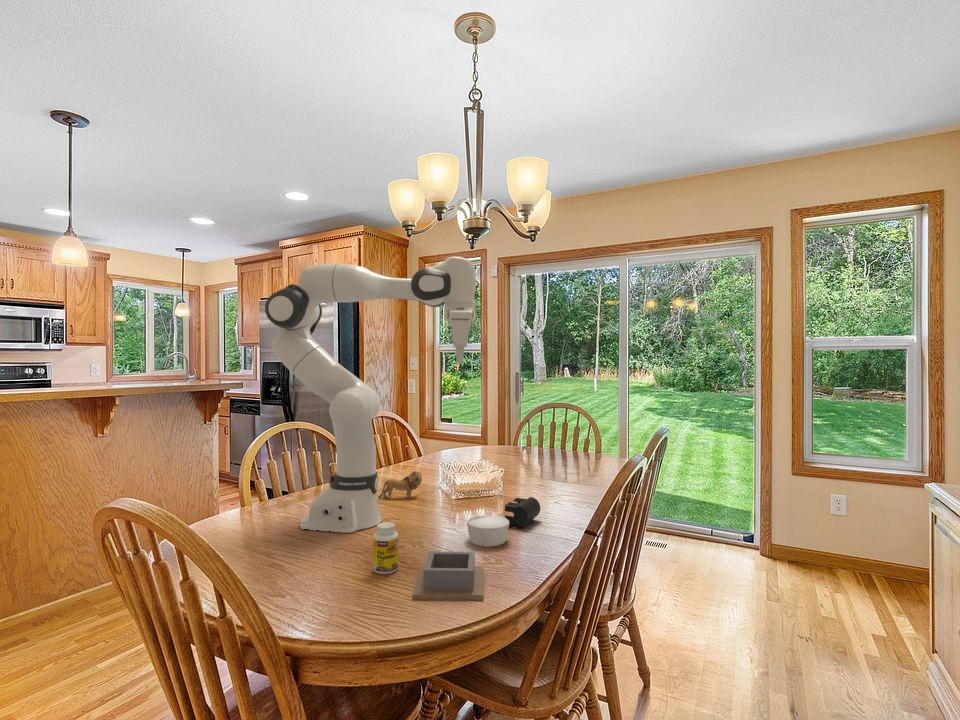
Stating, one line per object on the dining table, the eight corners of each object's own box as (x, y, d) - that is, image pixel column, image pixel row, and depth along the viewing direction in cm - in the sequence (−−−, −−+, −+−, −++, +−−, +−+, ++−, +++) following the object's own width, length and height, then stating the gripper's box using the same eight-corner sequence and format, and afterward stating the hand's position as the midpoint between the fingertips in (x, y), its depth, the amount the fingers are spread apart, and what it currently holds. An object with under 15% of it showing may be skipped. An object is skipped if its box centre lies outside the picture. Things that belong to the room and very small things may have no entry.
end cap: (527, 531, 143) (527, 506, 143) (504, 527, 146) (504, 503, 146) (540, 520, 152) (540, 497, 152) (518, 517, 155) (518, 494, 155)
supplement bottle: (373, 576, 113) (373, 529, 113) (372, 566, 119) (372, 521, 119) (399, 574, 115) (399, 527, 114) (397, 564, 120) (397, 520, 120)
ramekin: (480, 531, 143) (480, 512, 143) (516, 538, 137) (516, 518, 137) (458, 543, 133) (458, 523, 133) (496, 552, 128) (496, 530, 128)
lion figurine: (421, 495, 179) (421, 469, 179) (422, 499, 174) (422, 472, 174) (377, 497, 176) (377, 471, 176) (378, 501, 171) (378, 474, 171)
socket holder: (412, 599, 103) (412, 574, 102) (421, 570, 117) (421, 548, 116) (483, 600, 102) (483, 575, 102) (483, 570, 116) (483, 548, 116)
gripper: (448, 317, 157) (448, 362, 157) (448, 311, 137) (448, 364, 137) (469, 317, 158) (469, 363, 158) (472, 311, 137) (472, 364, 137)
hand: (459, 363), depth 147 cm, fingers open, 8 cm apart
